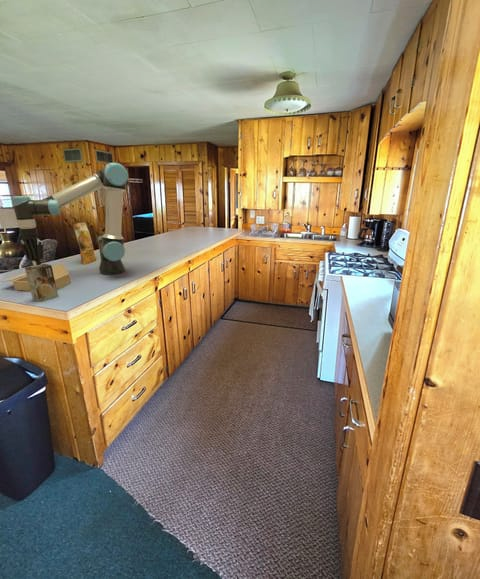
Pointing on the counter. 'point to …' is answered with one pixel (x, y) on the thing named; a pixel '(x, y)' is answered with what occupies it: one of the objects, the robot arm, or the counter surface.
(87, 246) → the pancake mix bag
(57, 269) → the flap
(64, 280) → the tan shallow open box
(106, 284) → the counter surface
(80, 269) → the counter surface
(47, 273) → the coffee box
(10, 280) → the flap
